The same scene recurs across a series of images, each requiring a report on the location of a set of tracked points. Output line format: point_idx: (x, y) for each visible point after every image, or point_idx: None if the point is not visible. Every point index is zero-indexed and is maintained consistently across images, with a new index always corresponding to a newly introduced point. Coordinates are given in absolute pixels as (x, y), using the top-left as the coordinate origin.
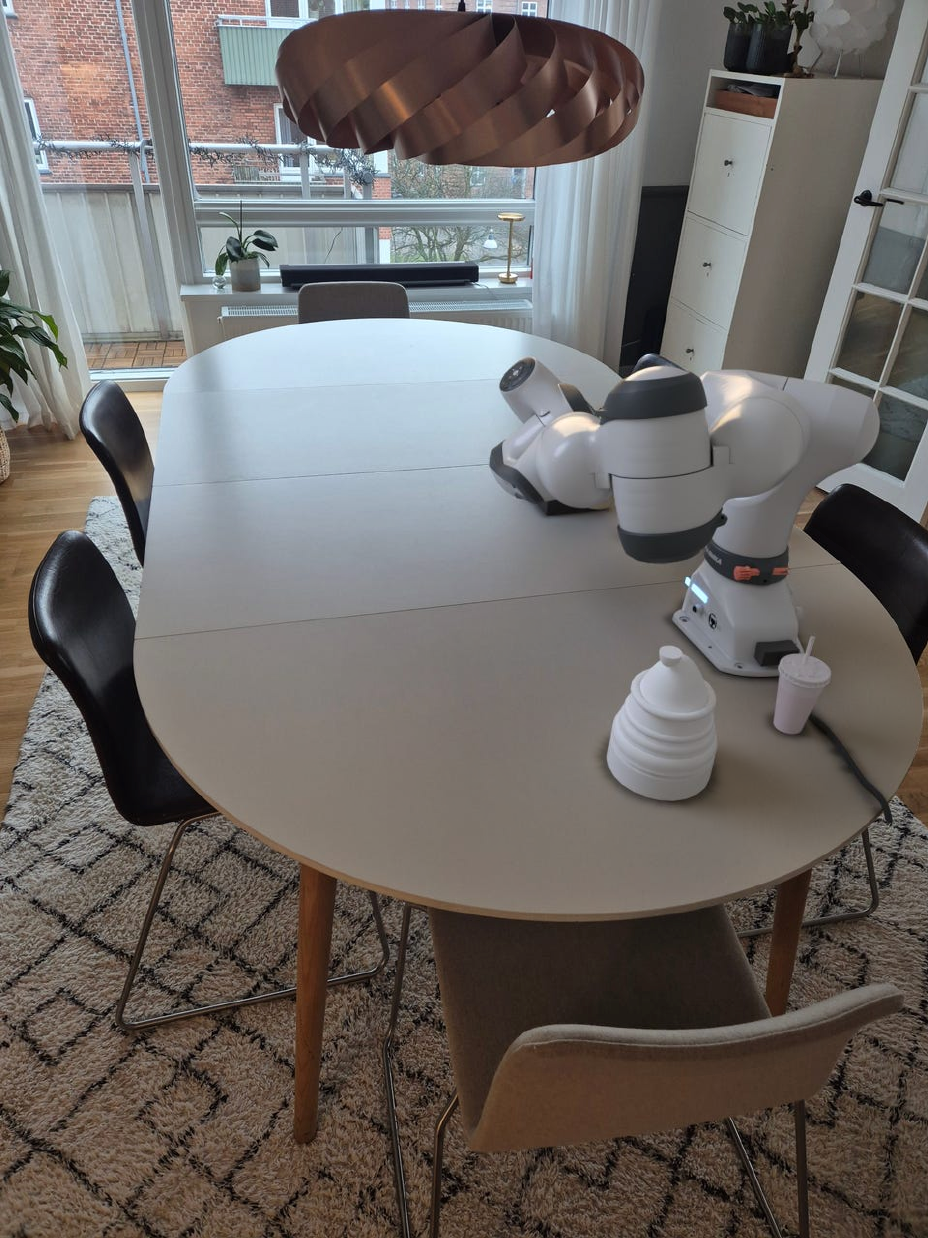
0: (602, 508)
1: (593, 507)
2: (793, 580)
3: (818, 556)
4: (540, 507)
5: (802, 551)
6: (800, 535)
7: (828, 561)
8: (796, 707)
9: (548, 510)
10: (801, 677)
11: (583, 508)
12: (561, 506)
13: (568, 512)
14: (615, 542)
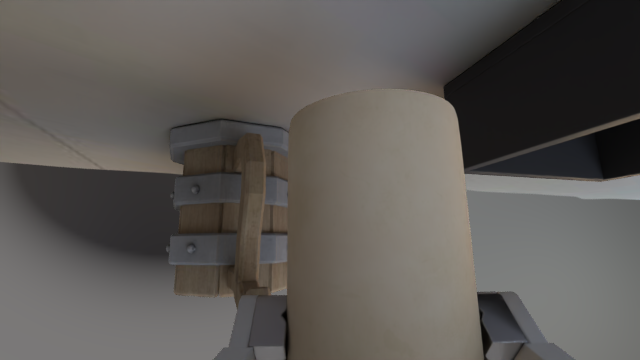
0: (291, 124)
1: (314, 110)
2: (22, 143)
3: (127, 169)
4: None
5: (143, 167)
6: None
7: (111, 169)
8: None
9: None
10: None
11: (503, 55)
12: (615, 4)
13: (563, 2)
14: (235, 2)
